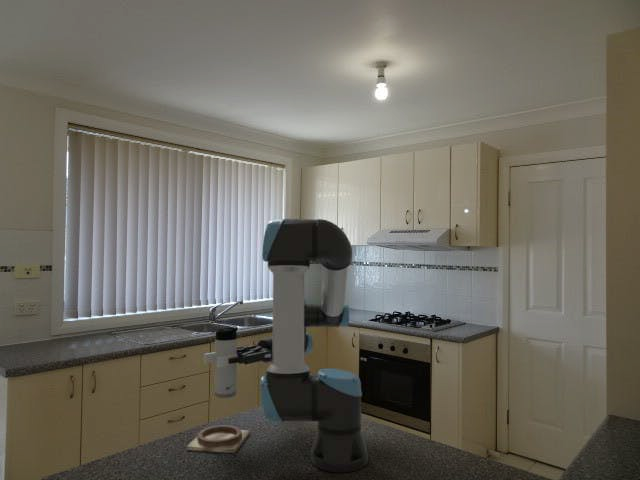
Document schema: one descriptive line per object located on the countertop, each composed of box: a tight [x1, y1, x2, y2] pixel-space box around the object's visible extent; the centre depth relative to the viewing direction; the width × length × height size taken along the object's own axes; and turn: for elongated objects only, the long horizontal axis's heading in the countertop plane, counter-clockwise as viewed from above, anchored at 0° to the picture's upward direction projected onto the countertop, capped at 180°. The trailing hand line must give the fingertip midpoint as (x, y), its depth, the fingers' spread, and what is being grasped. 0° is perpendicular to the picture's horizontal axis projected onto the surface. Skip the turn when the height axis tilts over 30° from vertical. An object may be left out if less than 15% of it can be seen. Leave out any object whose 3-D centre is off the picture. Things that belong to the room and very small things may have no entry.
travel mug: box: [214, 327, 238, 399], centre depth 140 cm, size 6×7×20 cm
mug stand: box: [186, 424, 251, 454], centre depth 138 cm, size 14×14×2 cm
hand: (211, 360), depth 137 cm, fingers closed on travel mug, 6 cm apart
